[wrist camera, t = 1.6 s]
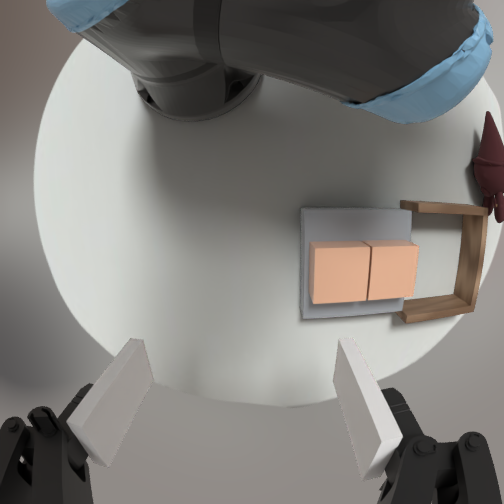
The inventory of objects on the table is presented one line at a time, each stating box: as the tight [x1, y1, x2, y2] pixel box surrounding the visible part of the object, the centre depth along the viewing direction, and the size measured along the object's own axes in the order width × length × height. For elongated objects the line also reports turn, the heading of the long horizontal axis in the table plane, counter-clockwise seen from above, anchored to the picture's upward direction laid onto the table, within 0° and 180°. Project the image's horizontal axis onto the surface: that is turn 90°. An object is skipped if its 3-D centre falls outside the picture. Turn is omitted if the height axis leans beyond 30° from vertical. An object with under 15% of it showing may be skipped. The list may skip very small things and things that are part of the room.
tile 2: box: [362, 240, 419, 300], centre depth 27 cm, size 6×6×3 cm
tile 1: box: [309, 241, 370, 304], centre depth 27 cm, size 6×6×3 cm
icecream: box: [472, 111, 504, 223], centre depth 24 cm, size 7×7×15 cm
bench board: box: [300, 208, 412, 319], centre depth 30 cm, size 12×12×3 cm
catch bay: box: [395, 200, 488, 323], centre depth 29 cm, size 14×12×4 cm
